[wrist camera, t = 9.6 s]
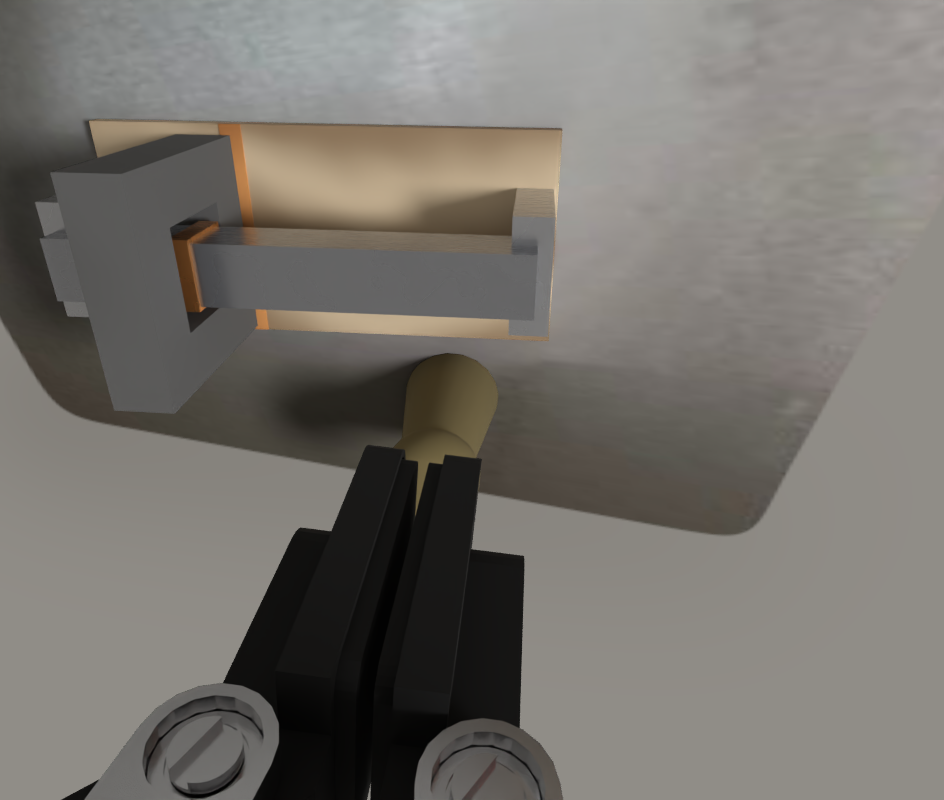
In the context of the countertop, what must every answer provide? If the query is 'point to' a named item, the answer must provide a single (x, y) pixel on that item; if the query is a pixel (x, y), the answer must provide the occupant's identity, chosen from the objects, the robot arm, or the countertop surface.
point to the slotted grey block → (151, 264)
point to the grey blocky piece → (351, 268)
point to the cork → (446, 411)
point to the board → (372, 191)
